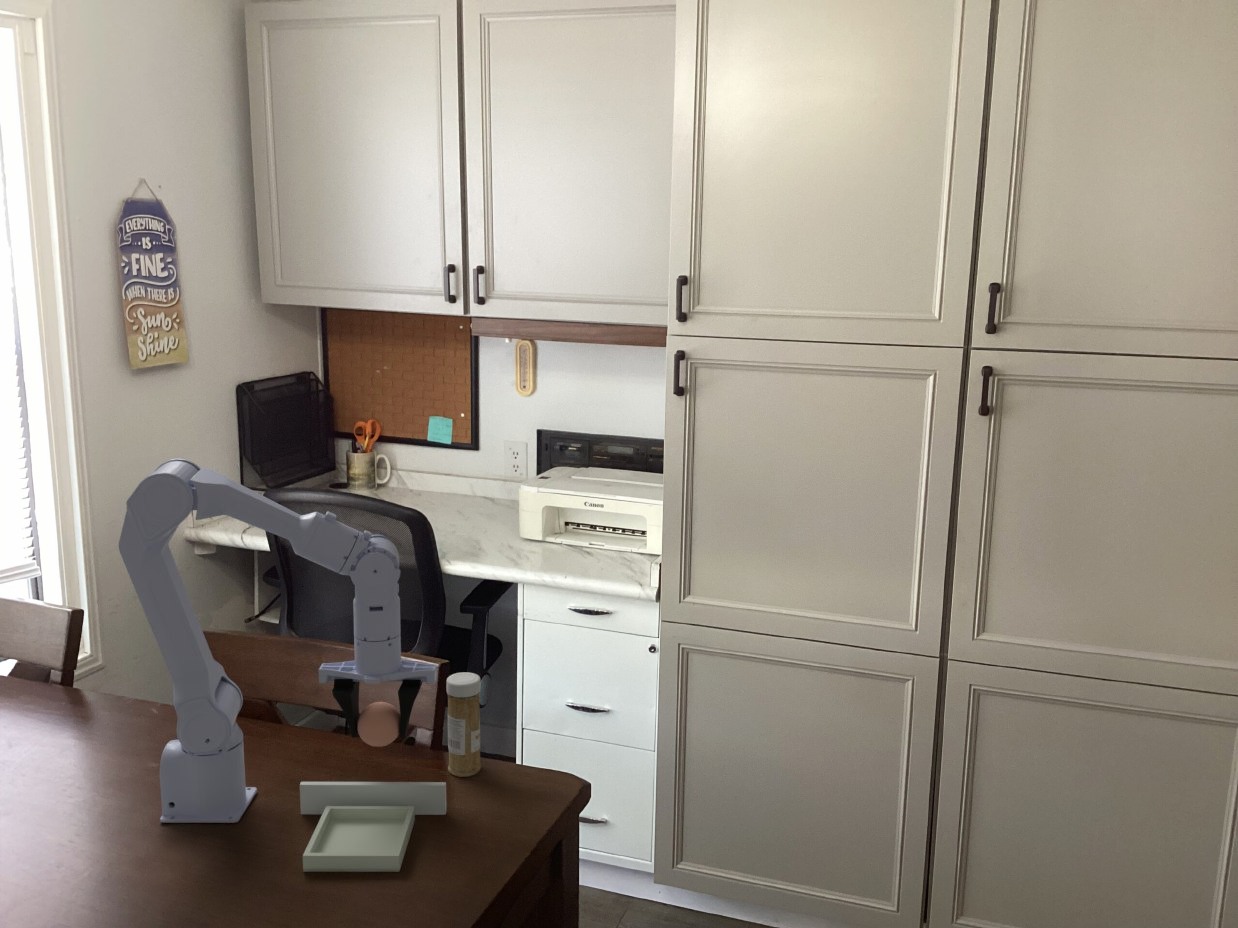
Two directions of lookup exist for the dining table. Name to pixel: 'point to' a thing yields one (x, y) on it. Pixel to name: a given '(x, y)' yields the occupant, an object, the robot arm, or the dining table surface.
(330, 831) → the tray
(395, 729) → the ball
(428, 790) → the acrylic wall
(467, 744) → the spice bottle
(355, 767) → the dining table surface
